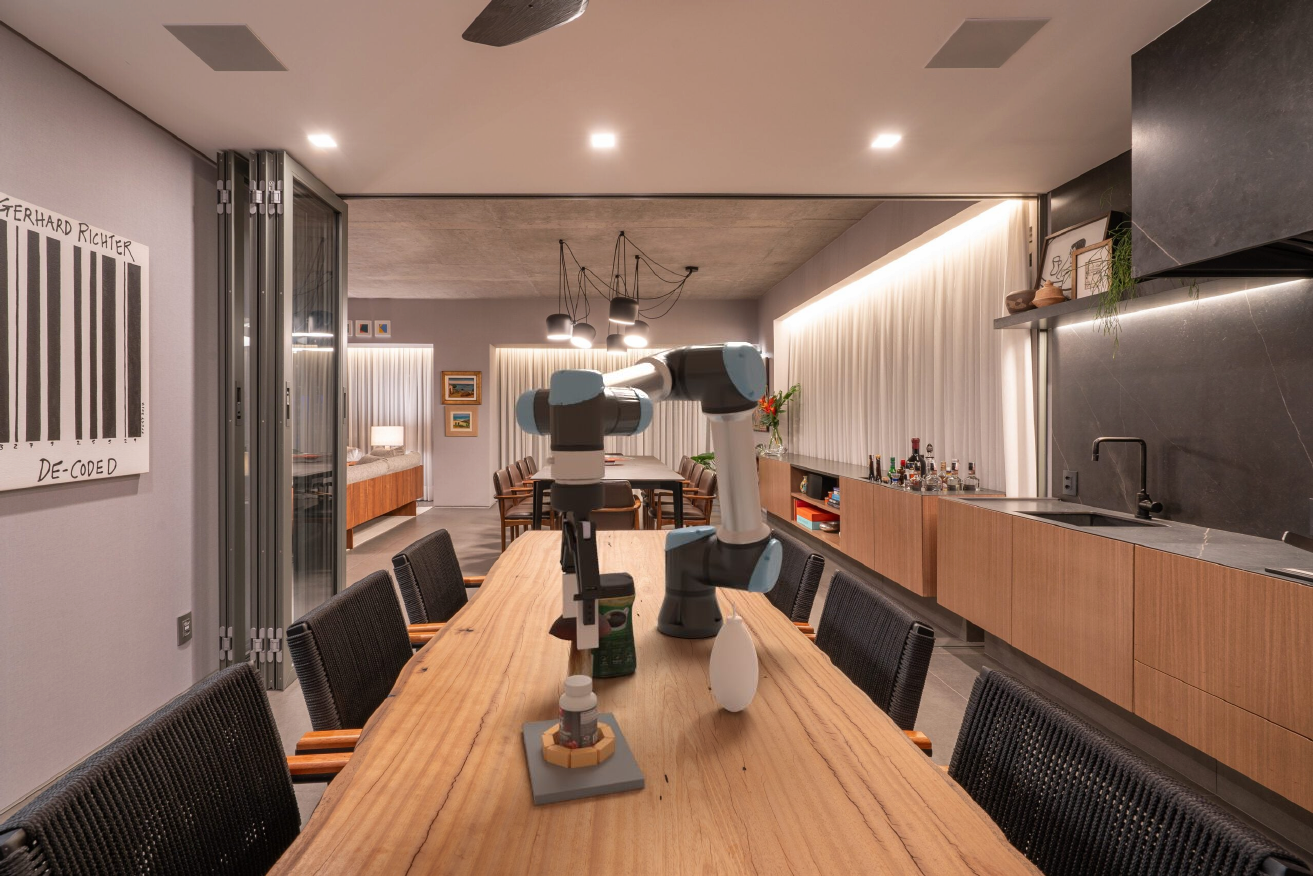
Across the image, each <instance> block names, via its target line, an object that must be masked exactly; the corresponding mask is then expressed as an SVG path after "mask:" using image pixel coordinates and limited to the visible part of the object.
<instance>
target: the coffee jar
mask: <svg viewBox="0 0 1313 876" xmlns="http://www.w3.org/2000/svg"><path fill="white" fill-rule="evenodd" d="M600 584H601V591H602V596H601V598H598V613H599V614H601V615H602V616H604V617H605V618H606V619H607V621H608V622H609V625H610V626H611V629H612V632H611V633H610V634H609V635H606V636H604V637H601V638H598V643H599V647H598V648H590V651H591V658H592V677H595V678H610V677H620V676H624V675H629V674H630V675H631V674H632V673H634V672H635V671H636V669H637V665H638V664H637V663H638V662H637V661H638V660H637V652H636V643H635V634H634V625H633V605H634V603H635V600H636V597H637V596H636V595H637V592H636V587H635V581H634V578H633V576H632V574H630V573H629V572H627V571H624V572H612V573H609V572H608V573H600ZM586 589H592V588H586Z"/></svg>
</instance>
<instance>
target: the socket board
mask: <svg viewBox="0 0 1313 876" xmlns="http://www.w3.org/2000/svg"><path fill="white" fill-rule="evenodd" d="M615 717H616V716H615V715H614V713H613V712H612V711H610V712H609V711H608V712H603V713H601V712H600V713H597V744H596V745H594V746H593V747H586V748H579V749H568V748H565V747H562V746H559V718H556V719H555V718H554V719H547V720H546V719H545V720H539V721H532V722H524V723H521V727H522V728H521V729H522V730H521V732H522V736H523V737H522V738H523V743H524V748H525V749H524V750H525V755H526V761H527V765H528V772H529V778H530V785H531V789H532V790H531V791H532V795H533V802H534V806H539V805H546V804H552V803H560V802H564V801H571V800H577V799H583V798H588V797H589V798H590V797H595V796H602V795H607V794H608V795H609V794H614V793H615V794H616V793H621V792H626V791H632V790H633V791H634V790H638V789H639V790H640V789H645V788H646V787H645V786H646V785H645V781H646V779H645V776H644V774H643V772H642V770H641V769H640V766H639V764H638V763H637V760H636V758H635V756H634V754H633V751H632V750H631V748H630V746H629V744H628V742H627V739H626V738H625V736H624V734H623V732H622V730H621V727H620V725H619V723H618V722H617V720H616V718H615Z"/></svg>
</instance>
